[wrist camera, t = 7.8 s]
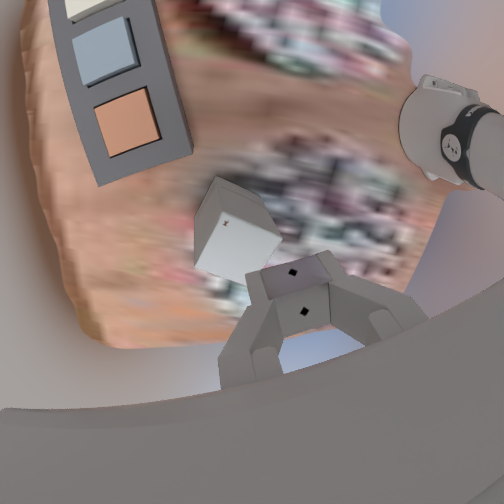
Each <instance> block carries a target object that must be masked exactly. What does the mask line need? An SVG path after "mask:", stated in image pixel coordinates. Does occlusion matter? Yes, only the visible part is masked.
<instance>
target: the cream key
mask: <svg viewBox="0 0 504 504" xmlns="http://www.w3.org/2000/svg"><path fill="white" fill-rule="evenodd" d="M124 1H125V0H65V5H66V11H67V17H68V19H70V20H72V21H74V22H76V23H77V22H79V21H81V20H83V19H85V18H87V17H89V16H91V15H94V14H96V13H98V12H100V11H102V10H105V9H107V8H109V7H112V6H114V5H116V4H119V3H121V2H124Z"/></svg>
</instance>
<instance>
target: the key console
mask: <svg viewBox="0 0 504 504" xmlns="http://www.w3.org/2000/svg"><path fill="white" fill-rule="evenodd" d="M48 6H49V13H50V20H51V26H52V31H53V37H54V42H55V47H56V52H57V56H58V61H59V65H60V69H61V73H62V77H63V81H64V85H65V89H66V92H67V96H68V100H69V103H70V106H71V110H72V113H73V116H74V120H75V123H76V126H77V129H78V132H79V135H80V138H81V141H82V144H83V147H84V150H85V152H86V155H87V158H88V161H89V163H90V166H91V169H92V171H93V174H94V177H95V179H96V182H97V184H98V187H100V186H103V185H105V184H108V183H110V182H113V181H116V180H118V179H121V178H123V177H126V176H129V175H131V174H134V173H137V172H140V171H143V170H145V169H148V168H151V167H154V166H157V165H160V164H163V163H166V162H169V161H172V160H175V159H179V158H182V157H185V156H188V155H192V154H193V147H194V144H193V141H192V137H191V134H190V130H189V127H188V123H187V120H186V116H185V113H184V109H183V105H182V102H181V98H180V95H179V91H178V87H177V84H176V80H175V76H174V73H173V69H172V65H171V61H170V58H169V54H168V50H167V46H166V42H165V39H164V35H163V31H162V27H161V23H160V19H159V15H158V11H157V7H156V3H155V0H125V1H124V2H121V3H119V4H116V5H114V6H112V7H109V8H107V9H105V10H102V11H100V12H98V13H96V14H94V15H91V16H89V17H87V18H85V19H83V20H81V21H79V22H77V23H76V22H74V21H72V20H70V19H68V17H67V11H66V5H65V0H48ZM122 16H123V17H124V18H125V19H126V20H128V21H129V22H130V23H131V26H132V31H133V35H134V39H135V43H136V47H137V51H138V54H139V58H140V62H141V67H138V68H135V69H133V70H130V71H128V72H125V73H123V74H120V75H118V76H115V77H113V78H111V79H108V80H106V81H104V82H102V83H99V84H97V85H86V86H83V83H82V80H81V76H80V72H79V68H78V64H77V60H76V56H75V51H74V47H73V42H72V39H74V38H76V37H78V36H80V35H82V34H84V33H86V32H88V31H90V30H92V29H94V28H96V27H99V26H101V25H103V24H105V23H108V22H110V21H112V20H115V19H117V18H120V17H122ZM141 89H148V91H149V95H150V98H151V102H152V105H153V108H154V112H155V115H156V119H157V122H158V125H159V129H160V132H161V135H162V136H161V137H160V138H159V139H156V140H154V141H151V142H148V143H145V144H142V145H139V146H137V147H134V148H131V149H129V150H126V151H124V152H121V153H118V154H116V155H113V156H111V157H110V156H109V153H108V150H107V147H106V144H105V141H104V138H103V135H102V132H101V129H100V126H99V123H98V120H97V117H96V114H95V110H94V109H95V108H97V107H100V106H102V105H104V104H106V103H109V102H111V101H113V100H116V99H118V98H121V97H123V96H126V95H128V94H131V93H133V92H136V91H139V90H141Z"/></svg>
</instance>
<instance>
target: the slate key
mask: <svg viewBox="0 0 504 504" xmlns="http://www.w3.org/2000/svg"><path fill="white" fill-rule="evenodd" d="M72 42H73V47H74V51H75V56H76V60H77V64H78V68H79V72H80V76H81V80H82V83H83V86H86V85H97V84H99V83H102V82H104V81H106V80H108V79H111V78H113V77H115V76H118V75H120V74H123V73H125V72H128V71H130V70H133V69H135V68H138V67H141V62H140V58H139V54H138V51H137V47H136V43H135V39H134V35H133V31H132V26H131V23H130V22H129V21H128V20H126V19H125V18H124V17H123V16H122V17H120V18H117V19H115V20H112V21H110V22H108V23H105V24H103V25H101V26H99V27H96V28H94V29H92V30H90V31H88V32H86V33H84V34H82V35H80V36H78V37H76V38H74V39H72Z"/></svg>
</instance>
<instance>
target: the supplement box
mask: <svg viewBox="0 0 504 504" xmlns="http://www.w3.org/2000/svg"><path fill="white" fill-rule="evenodd" d="M282 239H283V238H282V236H281V234H280V232H279V230H278V229H277V227H276V225H275V223H274V221H273V219H272V218H271V216H270V214H269V212H268V210H267V209H266V207H265V205H264V203H263V201H262V200H261V198H260V196H258V195H256V194H254V193H253V192H250V191H248V190H246V189H244V188H242V187H240V186H238V185H236V184H233V183H231V182H229V181H227V180H225V179H222V178H220V177H218V176H216V177H215V178H214V180H213V182H212V184H211V186H210V188H209V190H208V192H207V194H206V196H205V198H204V199H203V201H202V203H201V205H200V207H199V209H198V211H197V213H196V215H195V217H194V267H195V268H197V269H200V270H203V271H206V272H209V273H211V274H214V275H217V276H220V277H223V278H225V279H228V280H231V281H234V282H237V283H240V284H242V285H245V286H247V284H246V280H245V274H246V273H250V272H253V271H257V270H261V269H263V267H264V266H265V264H266V263H267V261H268V260H269V258H270V257H271V255H272V254H273V253H274V251H275V250H276V248H277V247H278V245H279V244H280V242H281V241H282Z"/></svg>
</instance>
